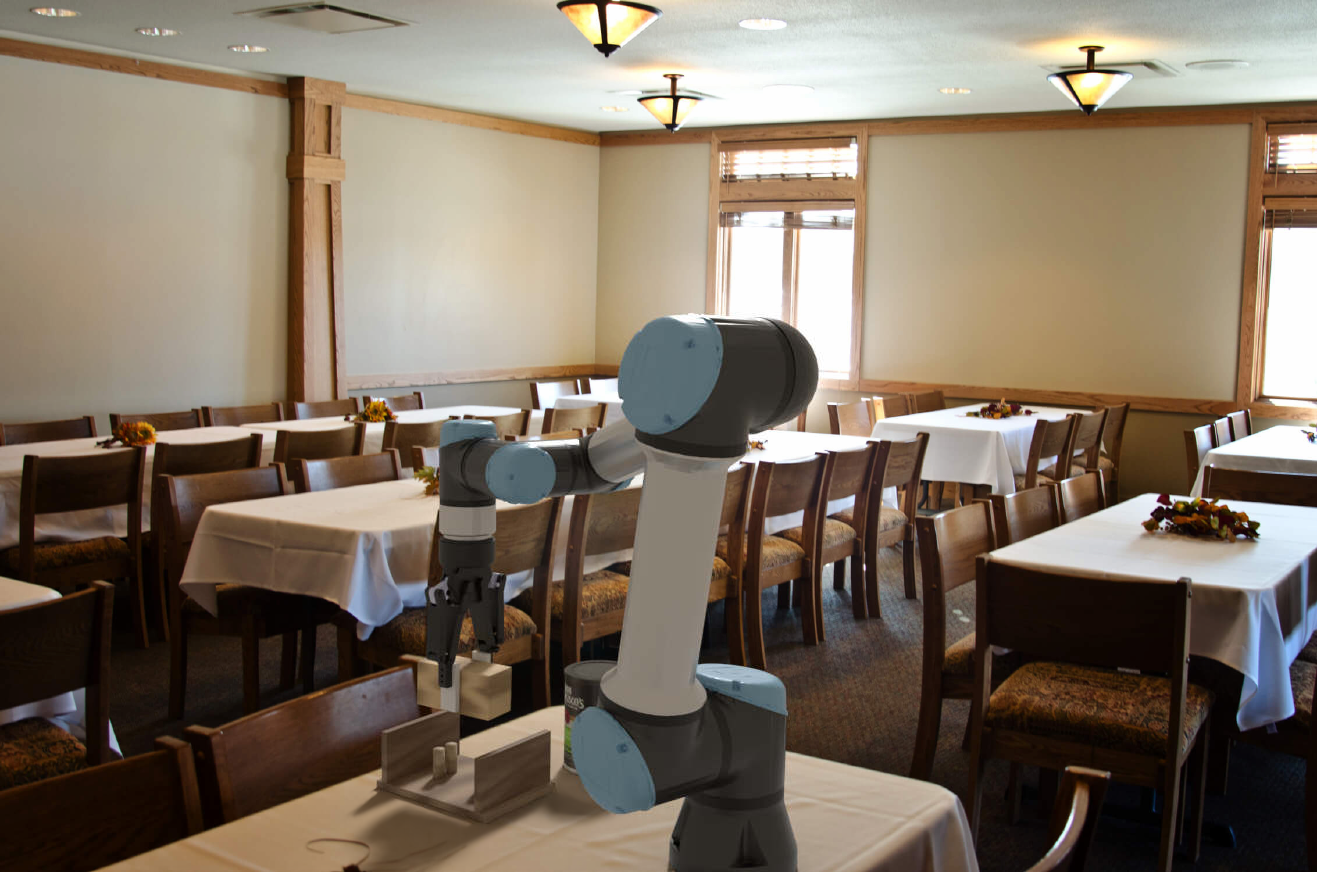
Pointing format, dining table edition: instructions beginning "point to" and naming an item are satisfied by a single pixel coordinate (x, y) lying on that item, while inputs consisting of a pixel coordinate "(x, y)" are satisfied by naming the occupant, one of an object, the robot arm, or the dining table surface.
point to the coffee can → (581, 697)
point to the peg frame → (463, 768)
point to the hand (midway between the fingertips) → (465, 703)
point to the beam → (469, 687)
